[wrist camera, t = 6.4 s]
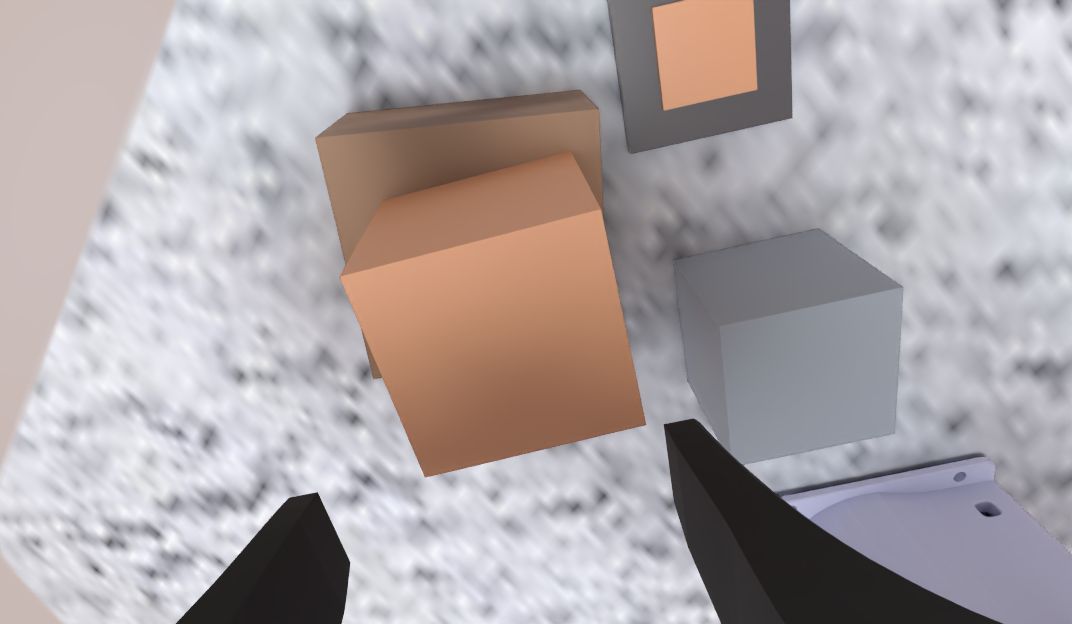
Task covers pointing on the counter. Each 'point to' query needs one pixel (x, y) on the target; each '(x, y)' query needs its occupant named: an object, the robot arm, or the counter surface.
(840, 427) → the slate block
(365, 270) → the terracotta block
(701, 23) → the card
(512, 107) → the walnut block
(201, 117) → the counter surface
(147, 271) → the counter surface
